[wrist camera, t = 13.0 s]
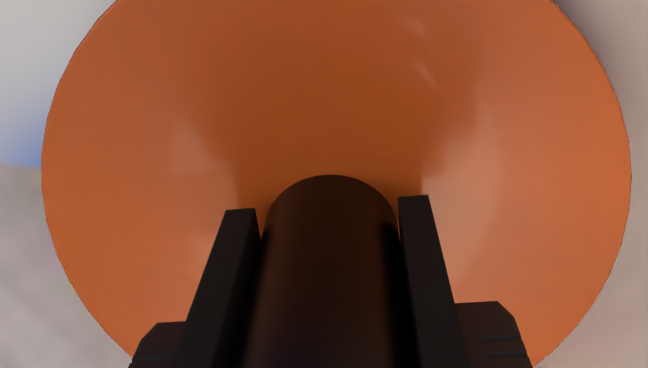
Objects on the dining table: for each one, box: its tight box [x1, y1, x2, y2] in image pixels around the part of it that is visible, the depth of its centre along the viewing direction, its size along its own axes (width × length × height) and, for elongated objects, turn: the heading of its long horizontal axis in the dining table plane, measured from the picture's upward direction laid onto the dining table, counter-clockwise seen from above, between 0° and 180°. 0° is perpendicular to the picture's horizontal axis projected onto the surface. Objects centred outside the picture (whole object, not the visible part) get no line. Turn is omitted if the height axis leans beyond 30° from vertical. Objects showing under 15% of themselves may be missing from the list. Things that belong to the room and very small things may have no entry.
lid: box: [41, 0, 632, 368], centre depth 13 cm, size 16×16×9 cm
